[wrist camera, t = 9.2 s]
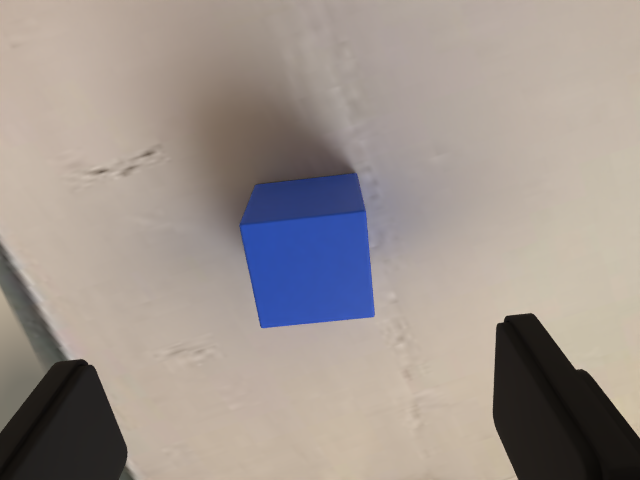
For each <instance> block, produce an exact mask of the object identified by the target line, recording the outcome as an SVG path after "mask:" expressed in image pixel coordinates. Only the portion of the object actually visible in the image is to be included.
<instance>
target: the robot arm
mask: <svg viewBox="0 0 640 480" xmlns="http://www.w3.org/2000/svg"><path fill="white" fill-rule="evenodd" d="M493 419H494V424H495V427H496V430H497V432H498V434H499V437H500V439H501V441H502V444H503V446H504V448H505V450H506V453H507V455H508V457H509V459H510V462H511V464H512V466H513V468H514V471H515V473H516V475H517V478H518V480H640V438H639V437H638V435H637V434H636V433H635V432H634V430H633V429H632V428H631V426H630V425H629V424H628V423H627V421H626V420H625V419H624V417H623V416H622V415H621V414H620V412H619V411H618V410H617V408H616V407H615V406H614V405H613V403H612V402H611V401H610V399H609V398H608V397H607V396H606V394H605V393H604V392H603V390H602V389H601V388H600V387H599V385H598V384H597V383H596V381H595V380H594V379H593V378H592V376H591V375H590V374H589V373H588V372H587V371H584V370H582V369H580V370H576V369H575V368H574V367H573V365H572V364H571V363H570V361H569V360H568V359H567V357H566V356H565V355H564V353H563V352H562V351H561V349H560V348H559V347H558V345H557V344H556V343H555V341H554V340H553V339H552V337H551V336H550V335H549V333H548V332H547V331H546V329H545V328H544V327H543V325H542V324H541V323H540V321H539V320H538V319H537V317H536V316H535V315H534V314H532V313H529V314H519V315H510V316H506V317H505V319H504V323H498V324H497V327H496V348H495V371H494V395H493ZM126 460H127V446H126V444H125V441H124V439H123V436H122V434H121V431H120V429H119V426H118V424H117V421H116V419H115V416H114V414H113V411H112V409H111V406H110V404H109V401H108V399H107V396H106V394H105V391H104V389H103V387H102V384H101V382H100V379H99V377H98V374H97V372H96V369H95V368H94V366H92V365H88V363H87V362H86V361H85V360H82V359H80V360H70V361H60V362H57V363H55V364H54V365H53V366H52V367H51V368H50V370H49V371H48V372H47V374H46V375H45V376H44V378H43V379H42V380H41V381H40V383H39V384H38V385H37V387H36V388H35V389H34V390H33V392H32V393H31V394H30V395H29V397H28V398H27V399H26V401H25V402H24V403H23V404H22V406H21V407H20V409H19V410H18V411H17V412H16V414H15V415H14V416H13V417H12V419H11V420H10V421H9V422H8V424H7V425H6V426H5V428H4V429H3V430H2V431H1V433H0V480H119V477H120V475H121V473H122V471H123V468H124V466H125V464H126Z"/></svg>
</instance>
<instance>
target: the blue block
mask: <svg viewBox="0 0 640 480" xmlns="http://www.w3.org/2000/svg"><path fill="white" fill-rule="evenodd" d="M239 227H240V231H241V236H242V241H243V246H244V250H245V255H246V260H247V264H248V269H249V274H250V279H251V283H252V288H253V293H254V298H255V302H256V307H257V312H258V317H259V321H260V326H261V328H268V327H278V326H289V325H299V324H309V323H319V322H329V321H339V320H349V319H359V318H369V317H374V315H375V312H374V300H373V288H372V277H371V265H370V253H369V242H368V230H367V218H366V210H365V206H364V201H363V197H362V193H361V189H360V184H359V180H358V176H357V173H352V174H343V175H334V176H326V177H317V178H309V179H300V180H291V181H283V182H274V183H265V184H257V185H255V187H254V190H253V192H252V195H251V197H250V200H249V202H248V205H247V207H246V210H245V212H244V215H243V217H242V220H241V222H240V225H239Z"/></svg>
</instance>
